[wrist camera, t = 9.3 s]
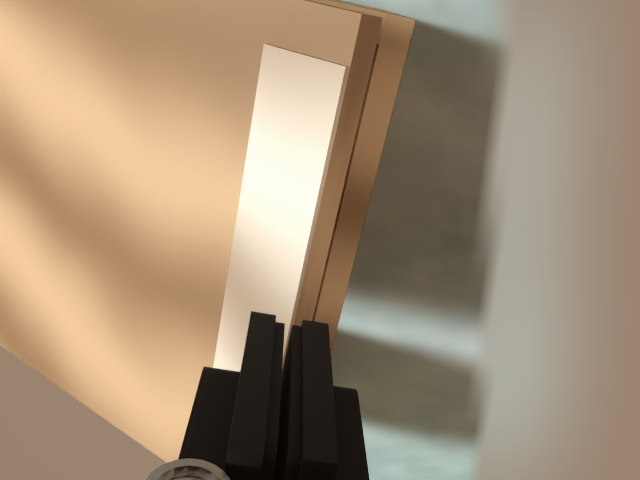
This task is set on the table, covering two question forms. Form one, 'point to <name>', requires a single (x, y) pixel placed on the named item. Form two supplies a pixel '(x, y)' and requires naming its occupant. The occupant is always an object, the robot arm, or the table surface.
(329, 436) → the robot arm
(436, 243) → the table surface
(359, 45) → the lid
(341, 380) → the table surface
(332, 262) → the box
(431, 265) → the table surface
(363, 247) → the table surface
